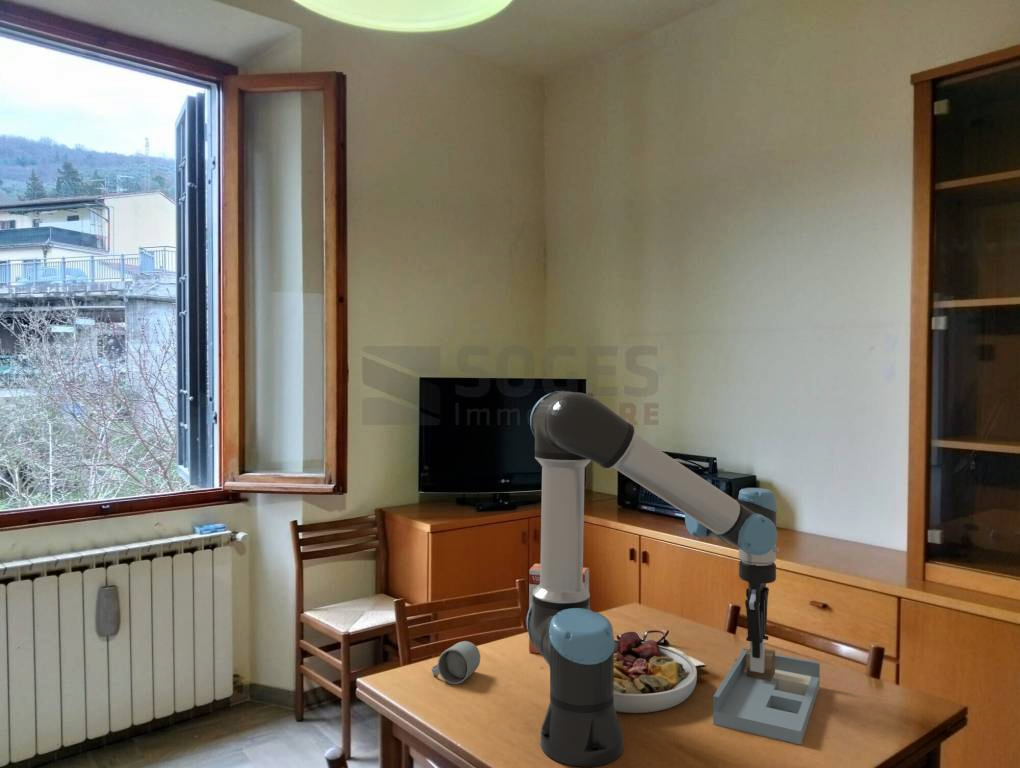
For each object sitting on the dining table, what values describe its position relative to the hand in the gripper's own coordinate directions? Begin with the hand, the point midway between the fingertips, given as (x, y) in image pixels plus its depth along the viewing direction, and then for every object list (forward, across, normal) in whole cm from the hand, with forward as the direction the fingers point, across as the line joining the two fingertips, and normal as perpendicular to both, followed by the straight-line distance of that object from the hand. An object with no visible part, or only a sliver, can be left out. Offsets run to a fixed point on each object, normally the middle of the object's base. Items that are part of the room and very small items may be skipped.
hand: (757, 670), depth 154 cm
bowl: (+5, -11, +26) cm, 28 cm away
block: (+2, +3, 0) cm, 4 cm away
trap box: (+5, -5, -3) cm, 8 cm away
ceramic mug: (+5, -26, +61) cm, 66 cm away
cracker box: (+5, -1, +47) cm, 47 cm away
